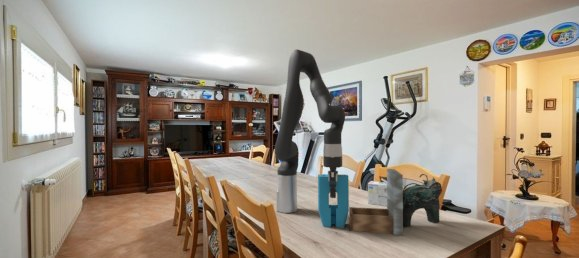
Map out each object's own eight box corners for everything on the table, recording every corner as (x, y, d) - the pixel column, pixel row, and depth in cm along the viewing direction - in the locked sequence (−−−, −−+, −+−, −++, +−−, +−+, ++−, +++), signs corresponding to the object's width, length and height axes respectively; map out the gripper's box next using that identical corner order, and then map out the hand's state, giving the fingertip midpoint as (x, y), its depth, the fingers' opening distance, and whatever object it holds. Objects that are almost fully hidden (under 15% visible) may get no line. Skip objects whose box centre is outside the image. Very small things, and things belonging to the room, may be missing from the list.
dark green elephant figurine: (433, 218, 114) (433, 171, 114) (446, 223, 108) (446, 174, 108) (395, 223, 108) (394, 174, 108) (406, 229, 102) (406, 177, 102)
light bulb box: (392, 203, 137) (392, 182, 137) (389, 206, 131) (389, 185, 131) (371, 200, 143) (371, 180, 143) (367, 203, 137) (367, 182, 137)
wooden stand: (350, 232, 100) (350, 173, 100) (349, 219, 113) (348, 168, 113) (403, 235, 96) (402, 175, 96) (394, 222, 110) (394, 169, 110)
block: (347, 223, 109) (347, 174, 109) (349, 227, 104) (348, 176, 104) (318, 222, 111) (318, 174, 111) (318, 226, 106) (317, 176, 106)
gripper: (324, 153, 115) (324, 190, 115) (322, 156, 101) (322, 199, 101) (342, 153, 114) (342, 191, 114) (342, 156, 100) (342, 200, 100)
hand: (333, 195), depth 108 cm, fingers open, 8 cm apart
